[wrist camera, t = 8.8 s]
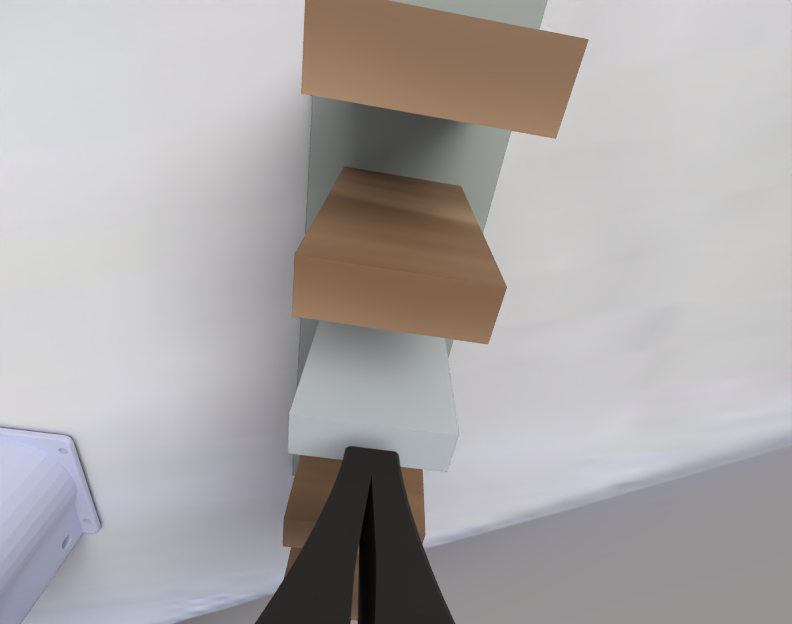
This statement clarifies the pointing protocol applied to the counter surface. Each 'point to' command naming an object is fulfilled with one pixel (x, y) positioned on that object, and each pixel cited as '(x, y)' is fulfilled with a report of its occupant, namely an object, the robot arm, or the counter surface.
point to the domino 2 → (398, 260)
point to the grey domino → (375, 396)
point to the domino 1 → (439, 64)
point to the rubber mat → (410, 142)
